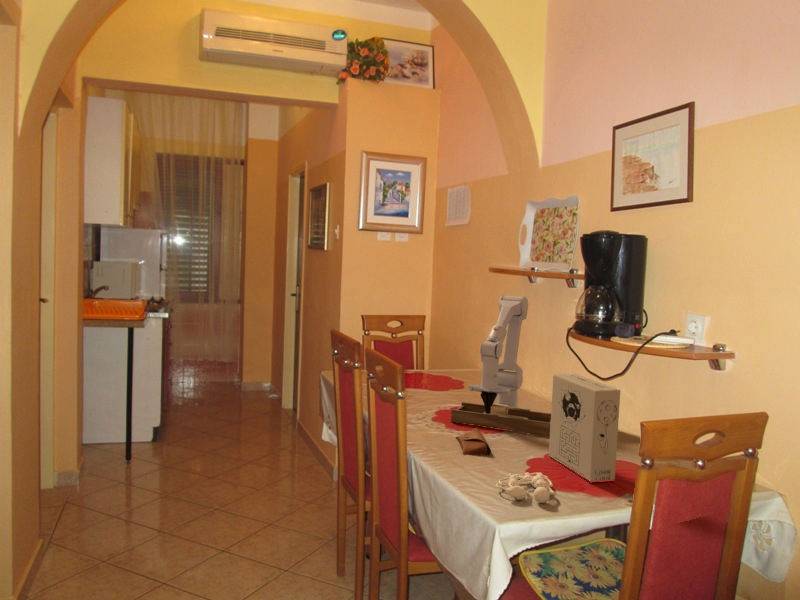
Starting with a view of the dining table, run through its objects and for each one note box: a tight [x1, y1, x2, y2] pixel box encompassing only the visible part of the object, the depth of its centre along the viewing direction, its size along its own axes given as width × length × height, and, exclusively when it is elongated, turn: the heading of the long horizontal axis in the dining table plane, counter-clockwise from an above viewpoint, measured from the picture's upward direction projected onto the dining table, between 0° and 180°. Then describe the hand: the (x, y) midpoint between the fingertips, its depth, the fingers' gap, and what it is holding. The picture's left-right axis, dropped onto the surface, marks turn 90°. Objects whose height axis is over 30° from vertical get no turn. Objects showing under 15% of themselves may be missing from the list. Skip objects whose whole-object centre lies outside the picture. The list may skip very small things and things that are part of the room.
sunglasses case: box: [455, 426, 492, 456], centre depth 191 cm, size 18×7×7 cm
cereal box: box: [548, 373, 621, 481], centre depth 172 cm, size 22×8×25 cm, turn 17°
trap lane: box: [450, 401, 551, 438], centre depth 215 cm, size 13×34×5 cm, turn 67°
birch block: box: [491, 403, 508, 416], centre depth 216 cm, size 5×5×4 cm
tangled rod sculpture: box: [495, 471, 556, 504], centre depth 157 cm, size 19×14×4 cm
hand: (488, 413), depth 218 cm, fingers closed
